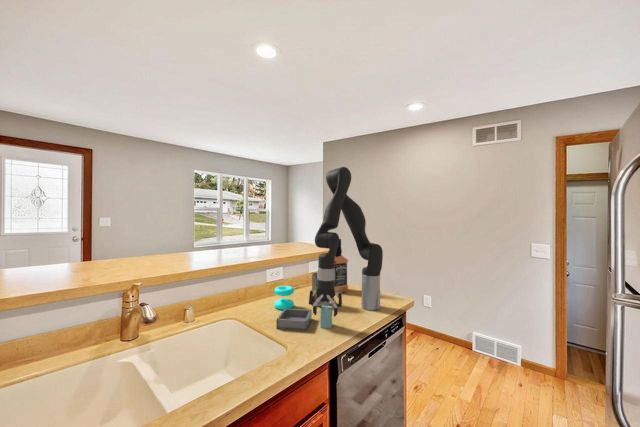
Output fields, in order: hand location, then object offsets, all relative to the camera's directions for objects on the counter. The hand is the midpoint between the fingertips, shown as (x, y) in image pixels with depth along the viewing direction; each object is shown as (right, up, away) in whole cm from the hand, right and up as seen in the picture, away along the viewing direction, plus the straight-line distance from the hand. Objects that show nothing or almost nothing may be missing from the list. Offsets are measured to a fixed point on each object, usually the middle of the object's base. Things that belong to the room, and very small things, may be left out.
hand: (325, 315), depth 120 cm
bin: (-13, -4, +2) cm, 14 cm away
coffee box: (-2, -4, +27) cm, 27 cm away
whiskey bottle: (+9, -4, +51) cm, 52 cm away
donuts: (-21, -4, +22) cm, 31 cm away
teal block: (+1, -5, 0) cm, 5 cm away
